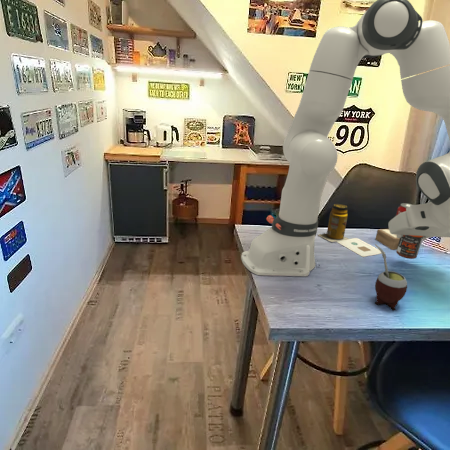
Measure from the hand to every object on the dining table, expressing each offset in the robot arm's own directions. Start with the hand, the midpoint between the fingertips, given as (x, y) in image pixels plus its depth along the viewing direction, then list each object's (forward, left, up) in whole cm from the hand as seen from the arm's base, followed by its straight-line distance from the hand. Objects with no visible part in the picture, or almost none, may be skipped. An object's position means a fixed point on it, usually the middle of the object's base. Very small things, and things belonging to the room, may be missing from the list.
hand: (410, 236), depth 108 cm
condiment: (-12, +22, -9) cm, 27 cm away
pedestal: (+8, +14, -9) cm, 19 cm away
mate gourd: (-22, -19, -10) cm, 30 cm away
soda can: (+17, +21, -9) cm, 29 cm away
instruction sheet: (-7, +13, -9) cm, 17 cm away
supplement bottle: (0, -1, -6) cm, 6 cm away
